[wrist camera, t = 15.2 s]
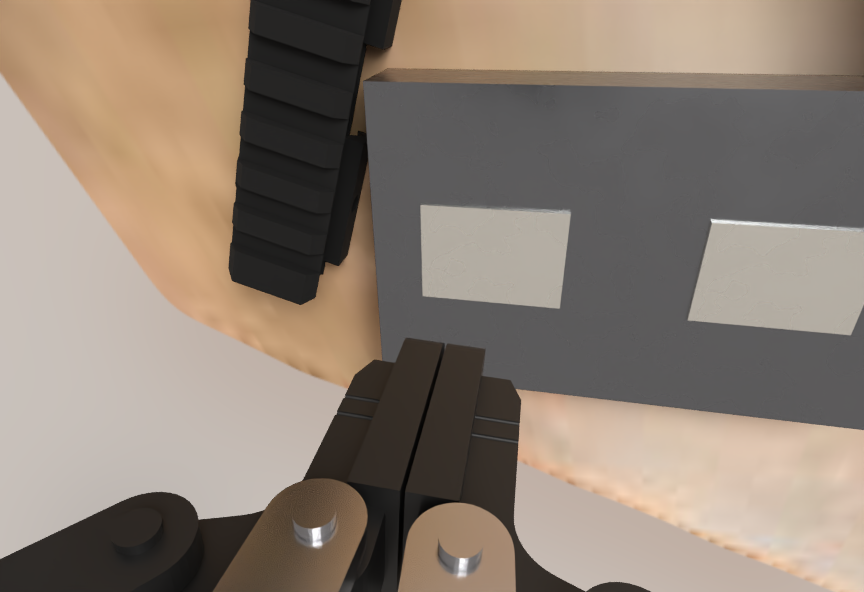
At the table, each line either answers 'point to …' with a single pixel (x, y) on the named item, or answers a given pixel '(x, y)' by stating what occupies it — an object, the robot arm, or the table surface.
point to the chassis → (629, 233)
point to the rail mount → (301, 140)
